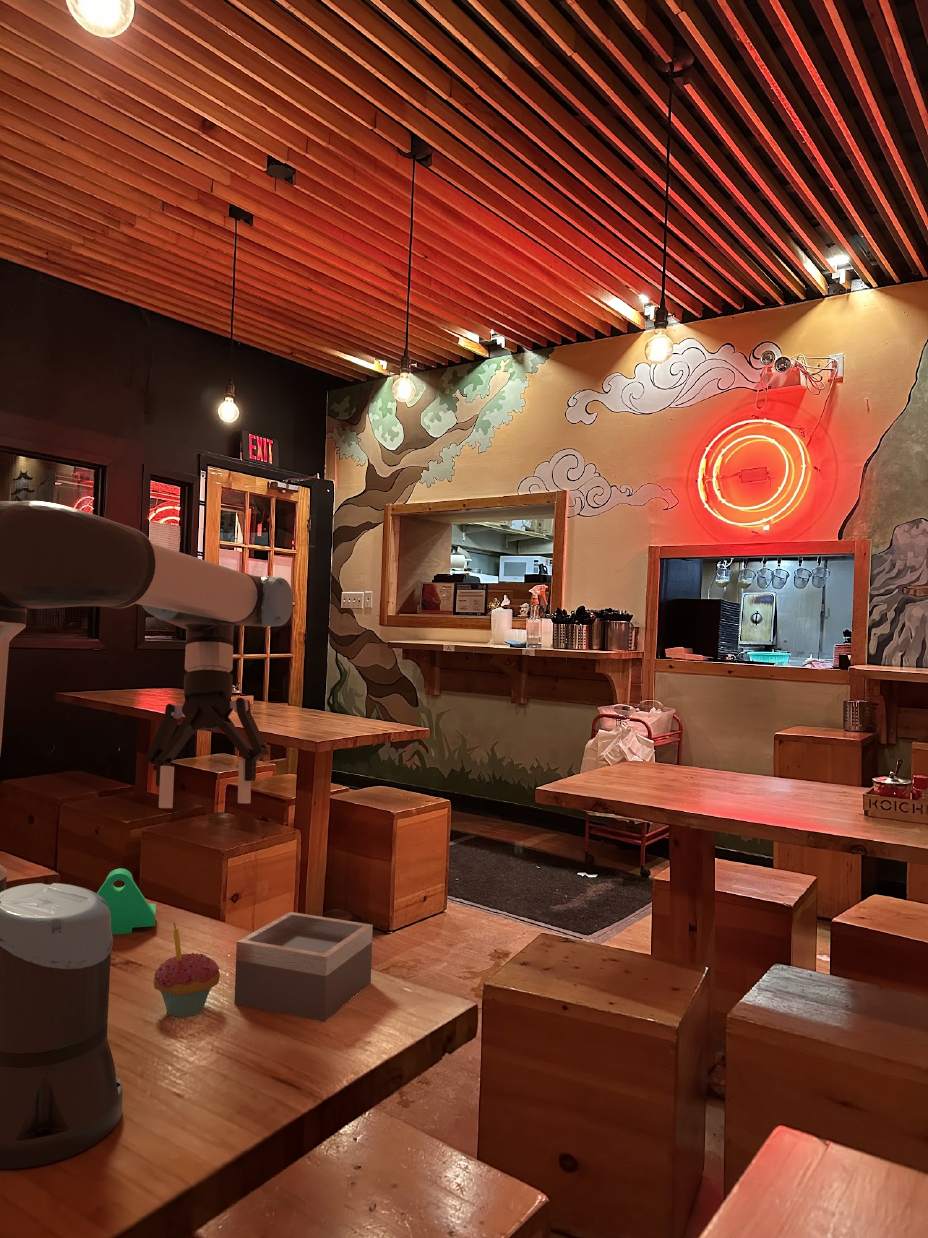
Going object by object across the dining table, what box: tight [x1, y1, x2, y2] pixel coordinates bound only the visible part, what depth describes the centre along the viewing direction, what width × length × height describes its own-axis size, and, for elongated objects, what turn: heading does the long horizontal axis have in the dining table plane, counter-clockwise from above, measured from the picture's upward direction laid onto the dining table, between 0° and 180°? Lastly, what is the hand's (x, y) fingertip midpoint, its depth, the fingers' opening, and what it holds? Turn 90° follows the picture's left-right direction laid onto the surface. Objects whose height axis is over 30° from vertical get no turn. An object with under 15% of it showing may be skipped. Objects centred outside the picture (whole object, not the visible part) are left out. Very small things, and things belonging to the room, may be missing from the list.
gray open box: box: [234, 931, 373, 1023], centre depth 121 cm, size 14×14×6 cm
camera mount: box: [96, 867, 157, 936], centre depth 146 cm, size 12×8×10 cm, turn 109°
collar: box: [235, 911, 374, 976], centre depth 122 cm, size 14×14×2 cm
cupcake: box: [153, 922, 221, 1018], centre depth 115 cm, size 9×8×12 cm
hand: (204, 805), depth 133 cm, fingers open, 13 cm apart
